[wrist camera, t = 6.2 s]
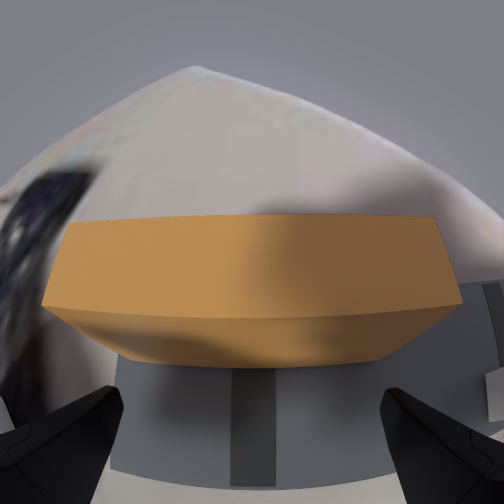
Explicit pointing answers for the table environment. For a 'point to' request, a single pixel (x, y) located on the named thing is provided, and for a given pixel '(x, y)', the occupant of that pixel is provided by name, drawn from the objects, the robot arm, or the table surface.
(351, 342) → the orange slider
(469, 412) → the switch box
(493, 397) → the white slider
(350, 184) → the table surface
